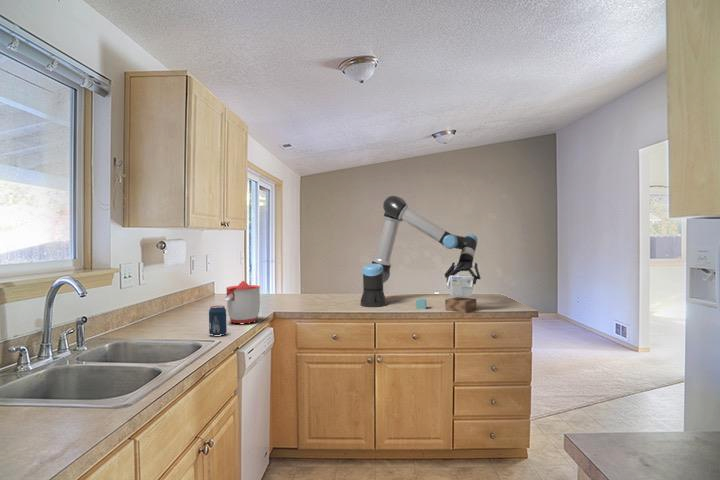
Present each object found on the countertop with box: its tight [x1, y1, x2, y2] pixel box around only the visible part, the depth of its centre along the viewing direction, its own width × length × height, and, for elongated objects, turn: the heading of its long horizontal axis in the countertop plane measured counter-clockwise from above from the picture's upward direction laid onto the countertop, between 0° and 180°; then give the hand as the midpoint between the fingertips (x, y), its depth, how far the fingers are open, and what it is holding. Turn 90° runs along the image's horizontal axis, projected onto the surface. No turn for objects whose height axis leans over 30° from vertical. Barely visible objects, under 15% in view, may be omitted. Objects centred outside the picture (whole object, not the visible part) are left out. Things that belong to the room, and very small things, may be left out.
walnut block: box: [444, 296, 477, 314], centre depth 236 cm, size 12×12×6 cm
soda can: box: [208, 305, 228, 335], centre depth 185 cm, size 7×7×12 cm
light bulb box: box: [449, 274, 473, 297], centre depth 235 cm, size 11×7×11 cm, turn 86°
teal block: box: [415, 298, 427, 310], centre depth 242 cm, size 5×5×5 cm
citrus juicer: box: [223, 280, 261, 324], centre depth 210 cm, size 16×17×20 cm
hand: (459, 287), depth 233 cm, fingers closed on light bulb box, 12 cm apart
